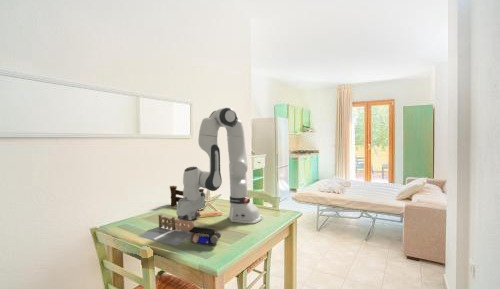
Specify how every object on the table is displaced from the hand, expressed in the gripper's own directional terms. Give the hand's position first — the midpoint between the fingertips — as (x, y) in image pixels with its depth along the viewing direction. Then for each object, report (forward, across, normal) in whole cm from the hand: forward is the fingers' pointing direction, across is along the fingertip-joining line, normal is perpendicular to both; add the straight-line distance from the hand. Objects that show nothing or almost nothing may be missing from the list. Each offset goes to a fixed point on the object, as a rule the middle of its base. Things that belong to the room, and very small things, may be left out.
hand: (191, 219), depth 144 cm
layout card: (+7, -8, +7) cm, 13 cm away
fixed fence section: (+6, -5, +14) cm, 16 cm away
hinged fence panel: (+6, -4, +1) cm, 7 cm away
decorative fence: (+7, +33, +34) cm, 48 cm away
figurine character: (+6, -10, -18) cm, 22 cm away
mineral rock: (+7, +12, +13) cm, 19 cm away
